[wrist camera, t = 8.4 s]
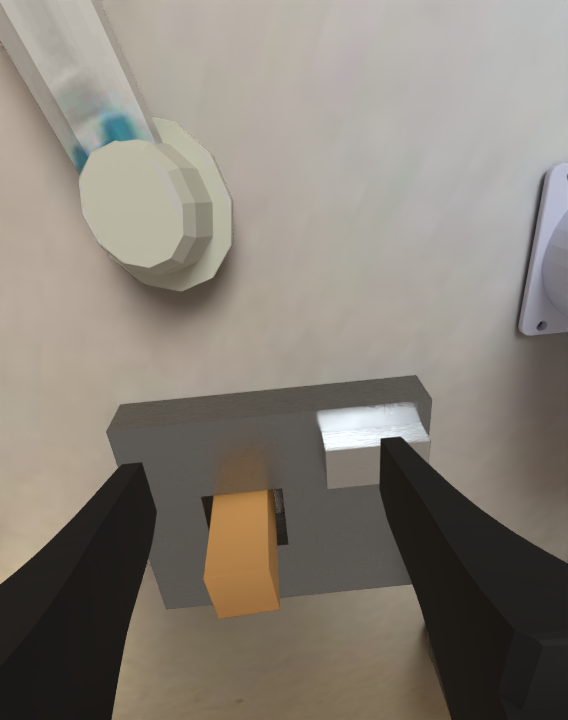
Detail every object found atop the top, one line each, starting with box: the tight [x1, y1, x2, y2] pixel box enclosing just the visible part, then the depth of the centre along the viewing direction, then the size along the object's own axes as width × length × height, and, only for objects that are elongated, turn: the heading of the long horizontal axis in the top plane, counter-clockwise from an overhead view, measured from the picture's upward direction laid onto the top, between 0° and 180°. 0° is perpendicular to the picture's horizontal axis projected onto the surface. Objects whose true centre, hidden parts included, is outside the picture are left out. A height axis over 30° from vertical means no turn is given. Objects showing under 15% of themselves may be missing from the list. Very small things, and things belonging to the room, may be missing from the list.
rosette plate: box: [106, 375, 432, 609], centre depth 25 cm, size 16×14×4 cm
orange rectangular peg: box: [204, 490, 280, 619], centre depth 23 cm, size 3×3×7 cm
